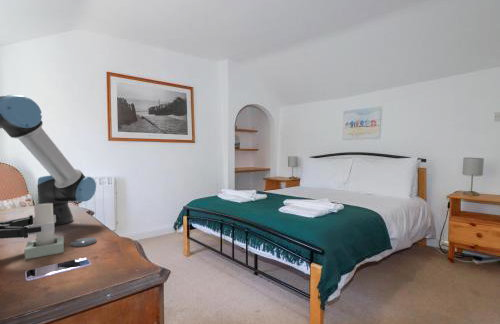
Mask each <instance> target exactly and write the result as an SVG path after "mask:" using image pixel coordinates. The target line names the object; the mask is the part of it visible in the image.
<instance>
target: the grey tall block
mask: <svg viewBox="0 0 500 324" xmlns="http://www.w3.org/2000/svg"><path fill="white" fill-rule="evenodd" d="M33 206H34V212H33V213H34V217H35V225H37V224H45V223H52V222H54V219H53V203H43V204H38V203H37V204H33ZM54 238H55V231H51V232H44V233H37V234H35V240H36V246H42V245H49V244H55V241H54Z"/></svg>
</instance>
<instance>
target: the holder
mask: <svg viewBox="0 0 500 324" xmlns="http://www.w3.org/2000/svg"><path fill="white" fill-rule="evenodd" d="M64 238H65V237H64V236H63V235H62V236H54V241H55V244H49V245H42V246H36V239H35V240H31V241H27V243H26V245H25V248H24V260H28V259H33V258H41V257H45V256H46V257H47V256H51V255H57V254H63V253H64V251H65V250H64V249H65V248H64V247H65V241H64Z"/></svg>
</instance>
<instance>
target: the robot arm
mask: <svg viewBox="0 0 500 324" xmlns="http://www.w3.org/2000/svg"><path fill="white" fill-rule="evenodd" d="M42 118H43V115H42V110H41V108H40V106H39V104H38V103H36V101H34V99H32V98H30V97H27V96H24V95H17V94H8V95H1V96H0V129H3V130H4V132H5V133H6V134H7V135H8V136H9V137H10V138H12V139H18V140H19V142H21V143H22V145H23V146H24V147H25V148H26V149H27V150H28V151H29V153H31V155H32V156H33V157H34V159H36V160H37V161H38V162H39V164H40V165H41V166H42V168H44V169H45V170H46V171H47V172H48V174H49V175H43V176H40V177H38V178H37V184H36V187H37V200H38V201H37V202H38V203H37V204H43V203H53V219H54V222H52V223H45V224H37V225H35V216H34V215H31V214H29V216H25V217H21V218H16V219H15V218H14V219H9V220H4V221H2V220H1V221H0V239H15V238H16V239H17V238H18V239H19V238H23V239H27V238H29V235H36V234H37V233H44V232H51V231H54V232H55V231H56V230H55V226H61V225H64V224H68V223H71V222H73V221H74V216H73V213H72V211H71V208H70V207H69V202H72V203H74V202H75V203H82V202H84V203H85V202H88V201H90V200H91V199H92V198H93V197H94V196H95V194H96V191H97V183H96V180H95V179H94V178H93V177H91V176H86V175H85V174H84V173H83V172H82V171H81V169H78V168H74V166H73V165H72V164H71V163H70V161H69V160H68V159H67V158H66V157H65V155H64V154H63V153H62V151H61V150H60V149H59V148H58V146H57V145H56V144H55V143H54V141H53V140H52V138H50V136H49V135H48V134H47V132H46V131H45V130H44V129H43V125H44V124H43V123H44V122H43V121H42Z"/></svg>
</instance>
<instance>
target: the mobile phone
mask: <svg viewBox="0 0 500 324" xmlns="http://www.w3.org/2000/svg"><path fill="white" fill-rule="evenodd" d="M91 265H92V263H91V261H90V260H89V259H88V257H80V258H76V259H71V260H67V261H62V262H57V263H54V264H49V265H43V266H40V267H36V268H31V269H28V270H26V271H25V274H24V276H25V281H26V282H27V281H33V280H34V281H35V280H38V279H41V278H45V277H49V276H53V275H54V276H55V275H58V274H62V273H66V272H69V271H70V272H71V271H74V270H79V269H82V268H86V267H90V266H91Z"/></svg>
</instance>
